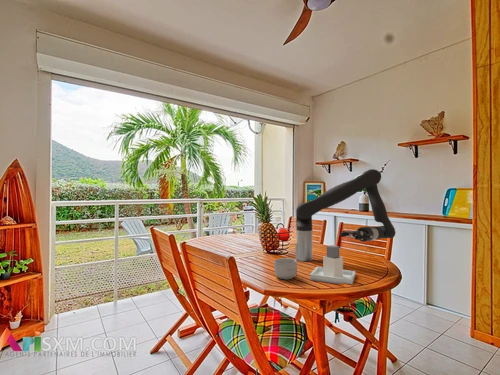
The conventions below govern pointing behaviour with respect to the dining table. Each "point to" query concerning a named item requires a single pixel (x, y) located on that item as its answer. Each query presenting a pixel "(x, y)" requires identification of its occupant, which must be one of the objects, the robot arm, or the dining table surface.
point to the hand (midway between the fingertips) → (348, 235)
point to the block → (333, 251)
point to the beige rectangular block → (333, 267)
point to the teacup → (285, 268)
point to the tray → (318, 276)
